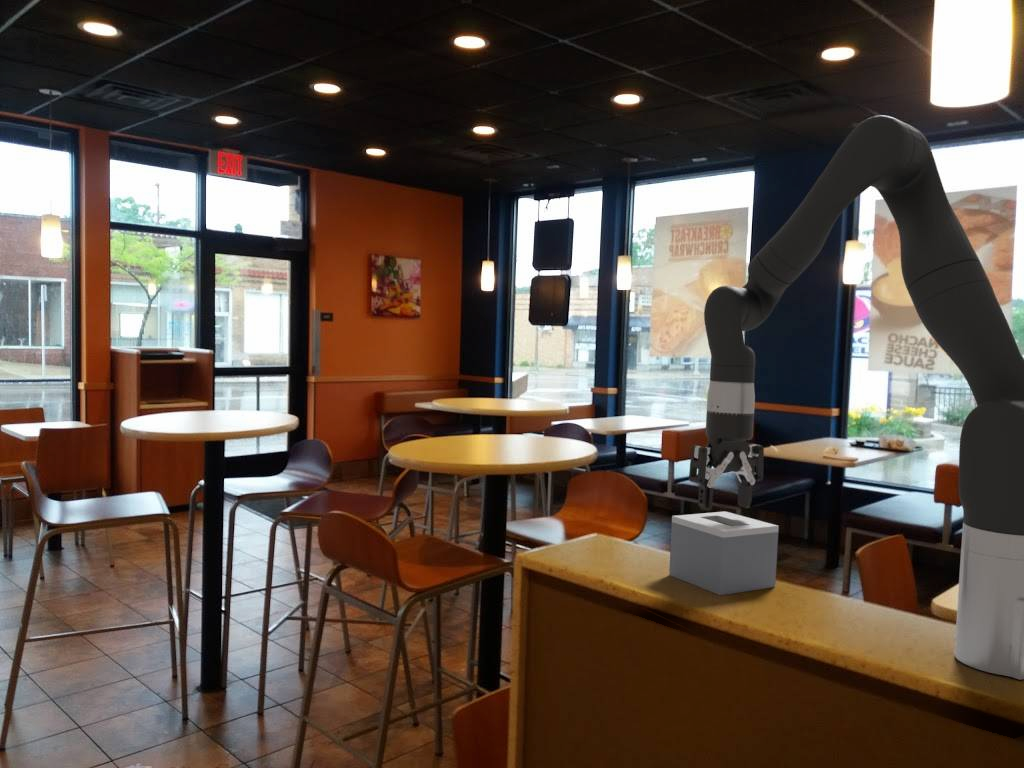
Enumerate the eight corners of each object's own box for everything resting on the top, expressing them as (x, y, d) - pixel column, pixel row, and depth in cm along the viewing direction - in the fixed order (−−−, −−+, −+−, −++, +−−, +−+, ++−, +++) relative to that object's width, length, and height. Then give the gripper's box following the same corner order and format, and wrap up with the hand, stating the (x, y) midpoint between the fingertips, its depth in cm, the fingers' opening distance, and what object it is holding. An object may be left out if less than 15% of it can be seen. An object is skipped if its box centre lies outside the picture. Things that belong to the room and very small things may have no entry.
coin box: (775, 586, 132) (778, 525, 132) (720, 595, 127) (723, 531, 126) (722, 568, 143) (725, 511, 142) (669, 575, 137) (672, 515, 137)
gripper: (713, 411, 127) (708, 515, 127) (779, 411, 134) (773, 510, 134) (681, 407, 133) (676, 506, 134) (745, 407, 140) (740, 501, 141)
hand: (725, 508), depth 134 cm, fingers open, 8 cm apart
